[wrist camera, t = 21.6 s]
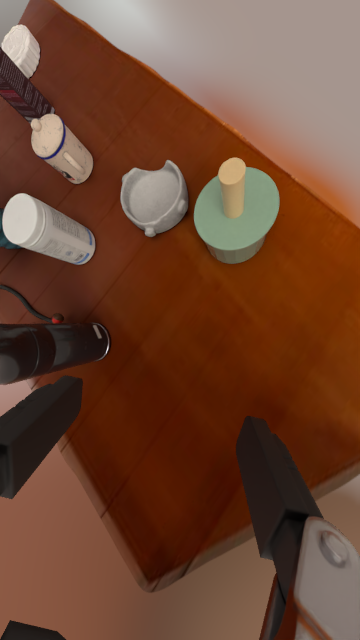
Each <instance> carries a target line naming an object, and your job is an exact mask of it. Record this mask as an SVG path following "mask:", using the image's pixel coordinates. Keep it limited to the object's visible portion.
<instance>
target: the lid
mask: <svg viewBox="0 0 360 640" xmlns="http://www.w3.org/2000/svg"><path fill="white" fill-rule="evenodd" d="M278 210H279V193H278V190H277V187H276V185H275V183H274V182H273V180H272V179H271V178H270V177H269V176H268V175H267V174H265V173H264V172H262V171H260V170H258V169H255V168H250V167H246V166H245V163H244V162H243V161H242V160H241V159H239V158H231V159H228V160H227V161H225V162H224V163H223V164H222V165H221V167H220V169H219V172H218V175H217V176H216V177H214V178H213V179H212V180H211V181H210V182H209V183H208V184H207V185H206V186H205V187H204V188H203V190H202V191H201V193H200V195H199V197H198V199H197V202H196V205H195V209H194V222H195V227H196V229H197V232H198V234H199V235H200V237H201V238H202V239H203V241H204V242H206V243H207V244H208V245H210V246H211V247H213V248H216V249H219V250H223V251H236V250H241V249H244V248H247V247H249V246H251V245H253V244H255V243H256V242H258V241H259V240H260V239H261V238H263V237H264V236H265V235H266V233H267V232H268V231H269V230H270V228H271V227H272V225H273V223H274V222H275V219H276V217H277V214H278Z"/></svg>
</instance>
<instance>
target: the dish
mask: <svg viewBox="0 0 360 640" xmlns="http://www.w3.org/2000/svg"><path fill="white" fill-rule="evenodd" d="M122 182H123V185H122V188H121V204H122V207H123V210H124V212H125V214H126V215H127V217H128V218H129V219H130V220H131V221H132V222H133V223H134V224H135V225H136V226H138V227H139V228H141V229H142V230H144V231H145V235H146V236H149V237H153V236H155V235H156V233H161V232H164V231H167V230H169V229H171V228H172V227H174V226H175V225H176V224H177V223H178V222H180V220H181V219H182V218H183V216H184V215H185V213H186V211H187V209H188V191H187V186H186V183H185V180H184V178H183V175H182V173H181V171H180V170H179V168H178V167H177V166H176V165H175V164H174V163H173V162H172V161H170V160H167V161H166V163H165V166H164V167H163V168H162V169H160V170H158V171H147V170H141V169H138V168H133V169H132V170H131V171H130V172H129V173H127V174H125V175H124V176H123V179H122Z"/></svg>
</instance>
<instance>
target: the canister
mask: <svg viewBox="0 0 360 640" xmlns="http://www.w3.org/2000/svg"><path fill="white" fill-rule="evenodd" d="M266 235H267V233H266ZM266 235H265V236H264V237H263V238H261V239H260V240H259V241H258V242H256V243H255V244H253V245H251V246H249V247H247V248H244V249H241V250H236V251H223V250H219V249H216V248H213V247H211V246H210V245H208V244H207V243H206V242H205V244H206V246H207V248H208V250H209V252H210V253H211V255H212V256H213V257H214V258H216V259H217V260H219V261H221V262H224V263H229V264H235V263H240V262H243V261H246V260H248V259H250V258H251V257H253V256H254V255H255V254H256V253H257V252H258V251H259V250H260V248H261V247H262V245H263V243H264V241H265V238H266Z"/></svg>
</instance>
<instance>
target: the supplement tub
mask: <svg viewBox="0 0 360 640" xmlns="http://www.w3.org/2000/svg"><path fill="white" fill-rule="evenodd" d="M2 225H3V231H4V234H5V236H6V237H7V239H8V240H9V241H10V242H12V243H14V244H17V245H19V246H21V247H24V248H27V249H30V250H33V251H36V252H39V253H42V254H45V255H48V256H51V257H54V258H57V259H61V260H64V261H67V262H70V263H73V264H77V265H80V264H84V263H86V262H87V261H89V260H90V259H91V257H92V256H93V254H94V251H95V238H94V236H93V234H92V232H91V231H90V230H89V229H88V228H86V227H84V226H83V225H81V224H79V223H78V222H76V221H74V220H72V219H71V218H69V217H67V216H66V215H64V214H62V213H60V212H59V211H57V210H55V209H54V208H52V207H50V206H48V205H47V204H45V203H43V202H41V201H40V200H38V199H36V198H34V197H31V196H29V195H27V194H24V193H21V194H17V195H15V196H14V197H12V198H11V199H10V201H9V202H8V203H7V205H6V207H5V210H4V213H3V219H2Z"/></svg>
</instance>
